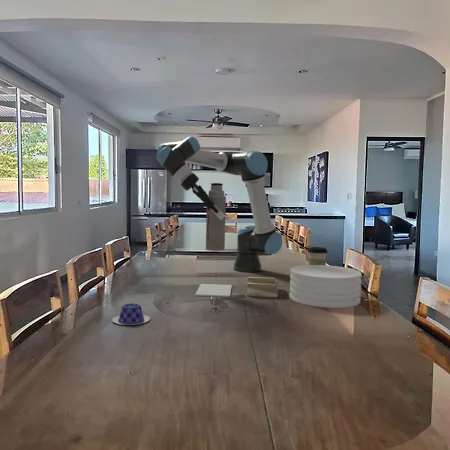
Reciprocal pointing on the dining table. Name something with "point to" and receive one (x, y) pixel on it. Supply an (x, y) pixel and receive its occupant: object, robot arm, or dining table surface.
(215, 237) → the thermos bottle
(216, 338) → the dining table surface
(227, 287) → the grey mat
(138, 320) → the pudding
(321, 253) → the coffee cup
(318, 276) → the plate stack
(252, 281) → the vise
